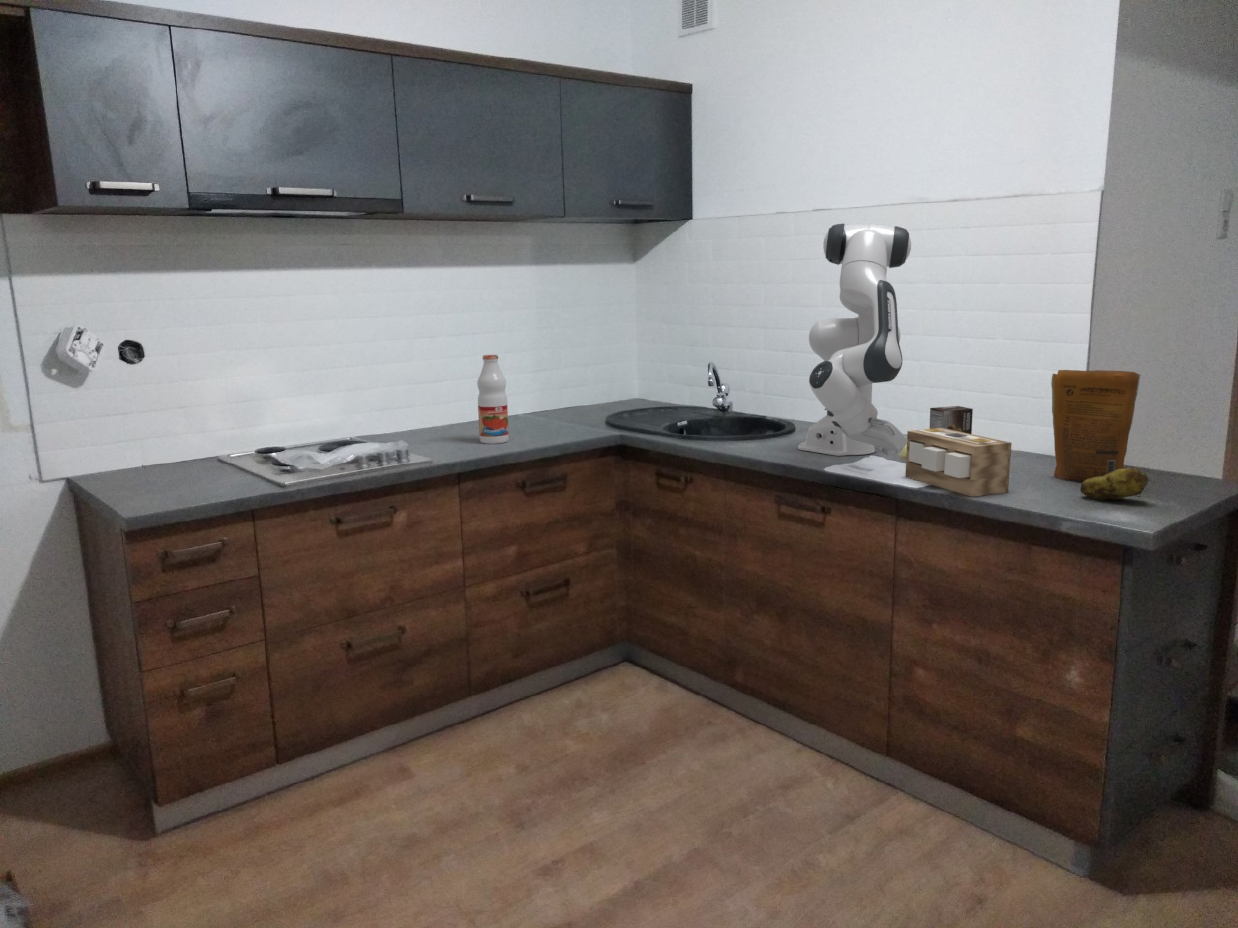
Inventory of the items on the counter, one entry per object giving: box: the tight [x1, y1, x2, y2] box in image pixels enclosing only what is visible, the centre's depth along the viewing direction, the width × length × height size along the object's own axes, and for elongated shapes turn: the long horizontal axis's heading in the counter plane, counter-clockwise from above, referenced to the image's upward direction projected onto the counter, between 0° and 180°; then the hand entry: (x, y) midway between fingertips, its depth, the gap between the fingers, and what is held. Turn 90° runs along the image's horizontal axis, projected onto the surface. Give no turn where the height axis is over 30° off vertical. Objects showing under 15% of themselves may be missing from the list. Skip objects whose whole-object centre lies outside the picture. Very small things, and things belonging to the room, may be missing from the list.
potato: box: [1080, 467, 1149, 501], centre depth 208 cm, size 8×13×8 cm, turn 37°
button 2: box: [944, 452, 972, 478], centre depth 217 cm, size 9×5×5 cm, turn 112°
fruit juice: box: [477, 354, 510, 445], centre depth 294 cm, size 9×9×28 cm
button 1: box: [909, 441, 925, 464], centre depth 233 cm, size 9×5×5 cm, turn 112°
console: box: [904, 428, 1013, 498], centre depth 226 cm, size 11×24×12 cm, turn 22°
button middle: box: [922, 446, 948, 472], centre depth 224 cm, size 9×5×5 cm, turn 112°
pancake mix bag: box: [1050, 369, 1141, 483], centre depth 224 cm, size 7×19×28 cm, turn 47°
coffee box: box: [928, 405, 974, 434], centre depth 246 cm, size 9×6×16 cm
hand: (889, 452), depth 225 cm, fingers closed
